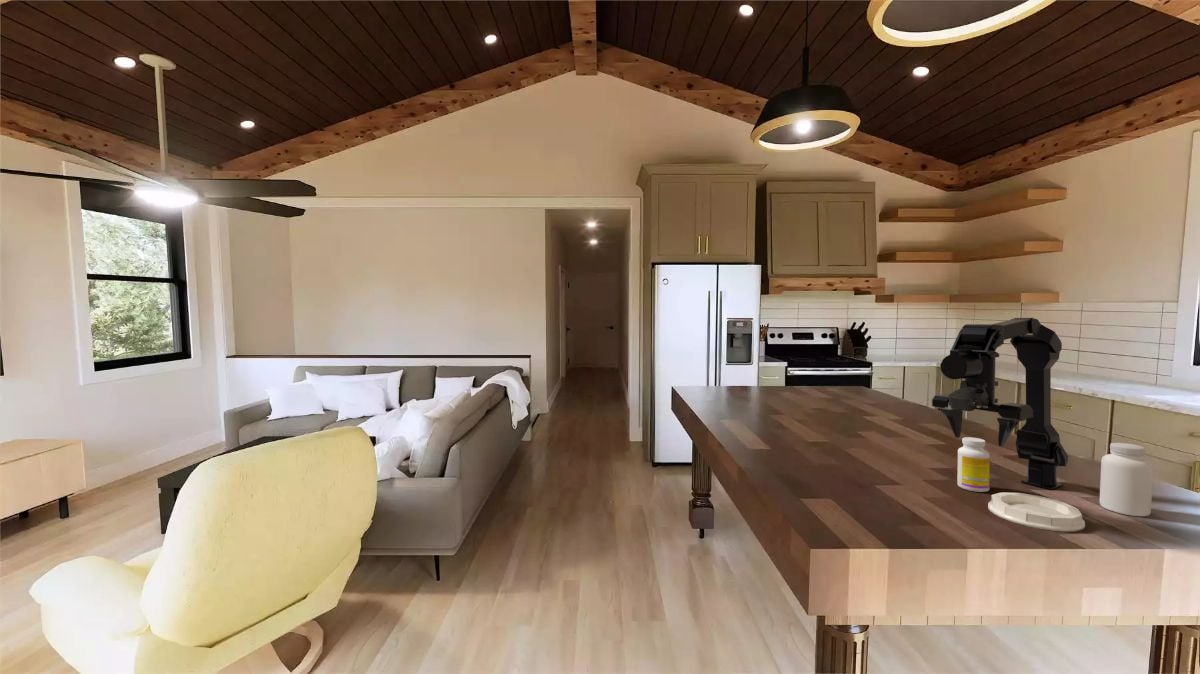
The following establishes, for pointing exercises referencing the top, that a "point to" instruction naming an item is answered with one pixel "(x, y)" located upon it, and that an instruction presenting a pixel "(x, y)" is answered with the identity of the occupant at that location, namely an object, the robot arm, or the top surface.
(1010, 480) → the top surface
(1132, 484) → the pill bottle
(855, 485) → the top surface
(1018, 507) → the tray
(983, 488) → the supplement bottle
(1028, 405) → the robot arm
